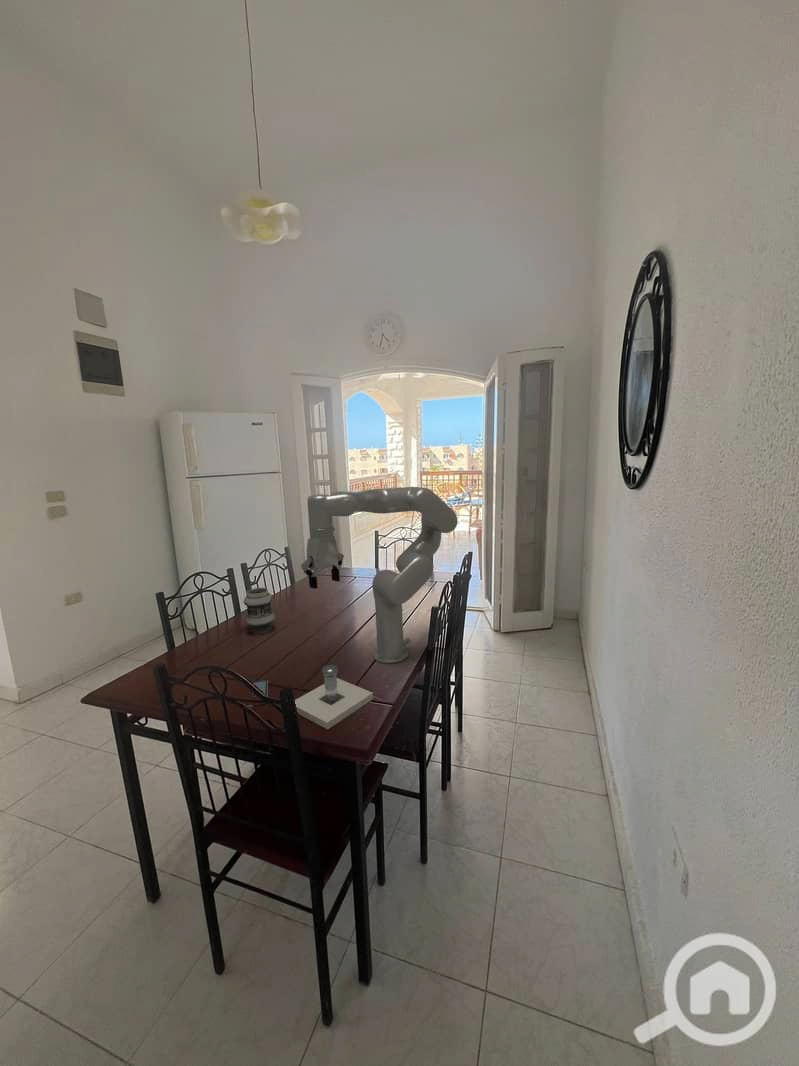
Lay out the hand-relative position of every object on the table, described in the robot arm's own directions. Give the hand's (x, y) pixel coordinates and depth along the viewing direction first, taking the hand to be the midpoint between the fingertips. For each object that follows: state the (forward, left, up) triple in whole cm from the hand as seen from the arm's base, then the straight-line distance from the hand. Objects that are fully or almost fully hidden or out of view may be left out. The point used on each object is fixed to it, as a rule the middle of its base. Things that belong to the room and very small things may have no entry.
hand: (325, 584), depth 141 cm
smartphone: (+24, -8, -31) cm, 40 cm away
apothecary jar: (-7, -51, -31) cm, 60 cm away
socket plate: (+14, +16, -30) cm, 37 cm away
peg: (+14, +16, -30) cm, 37 cm away
